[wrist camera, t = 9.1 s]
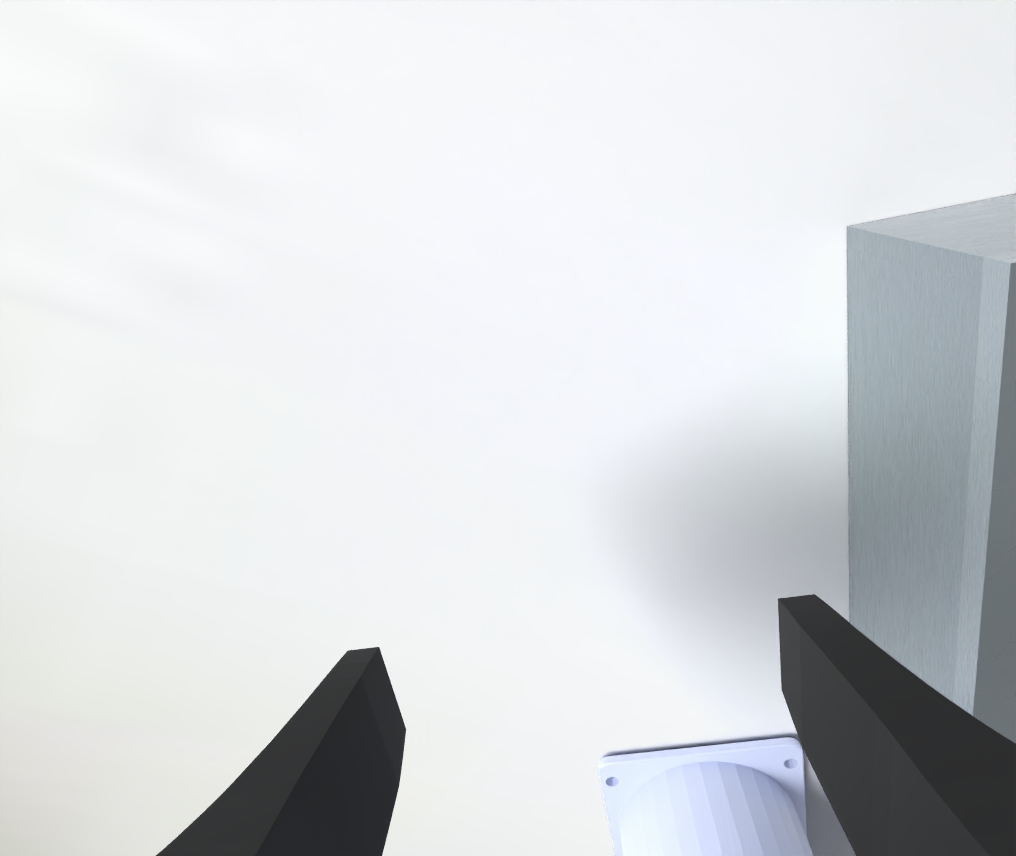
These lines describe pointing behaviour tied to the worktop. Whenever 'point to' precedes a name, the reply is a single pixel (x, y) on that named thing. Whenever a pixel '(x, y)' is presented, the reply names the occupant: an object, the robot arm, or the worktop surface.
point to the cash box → (936, 448)
